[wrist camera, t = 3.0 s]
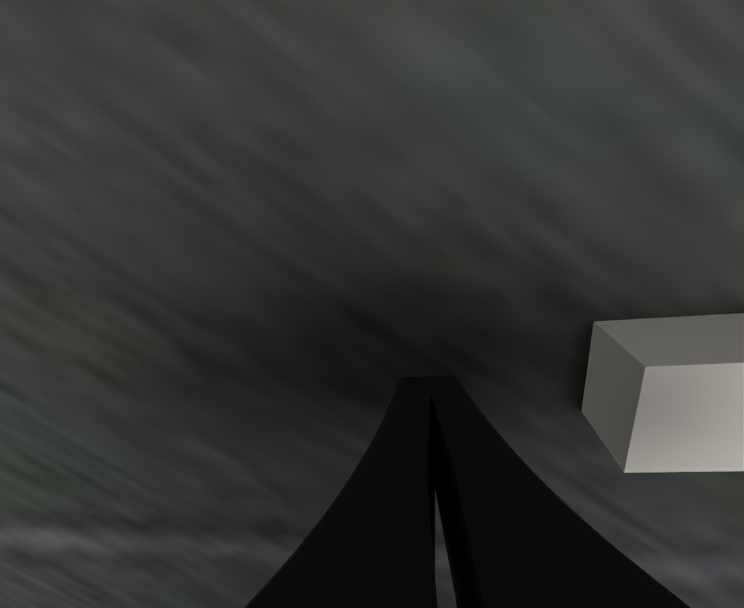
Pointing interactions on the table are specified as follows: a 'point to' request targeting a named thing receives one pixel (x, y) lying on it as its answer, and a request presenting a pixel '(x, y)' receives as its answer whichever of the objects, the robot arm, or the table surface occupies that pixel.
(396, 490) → the robot arm
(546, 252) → the table surface
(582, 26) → the table surface
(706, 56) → the table surface
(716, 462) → the cream l-shaped block
